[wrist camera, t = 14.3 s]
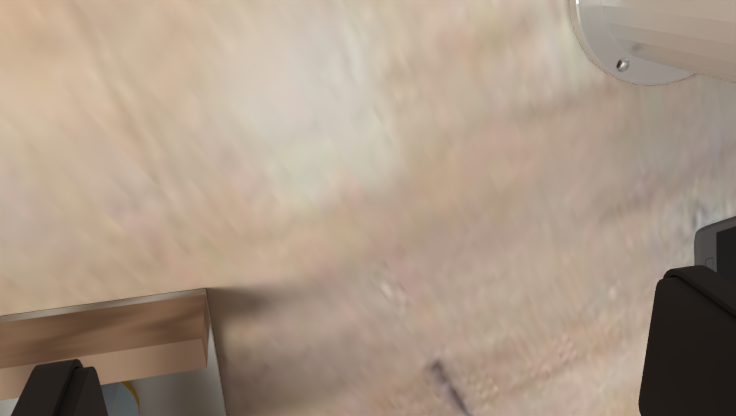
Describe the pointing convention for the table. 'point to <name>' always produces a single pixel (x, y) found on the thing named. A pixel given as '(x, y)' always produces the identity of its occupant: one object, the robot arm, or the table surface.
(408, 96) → the table surface
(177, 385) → the u rest
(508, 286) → the table surface
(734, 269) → the cell phone
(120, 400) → the bottle
